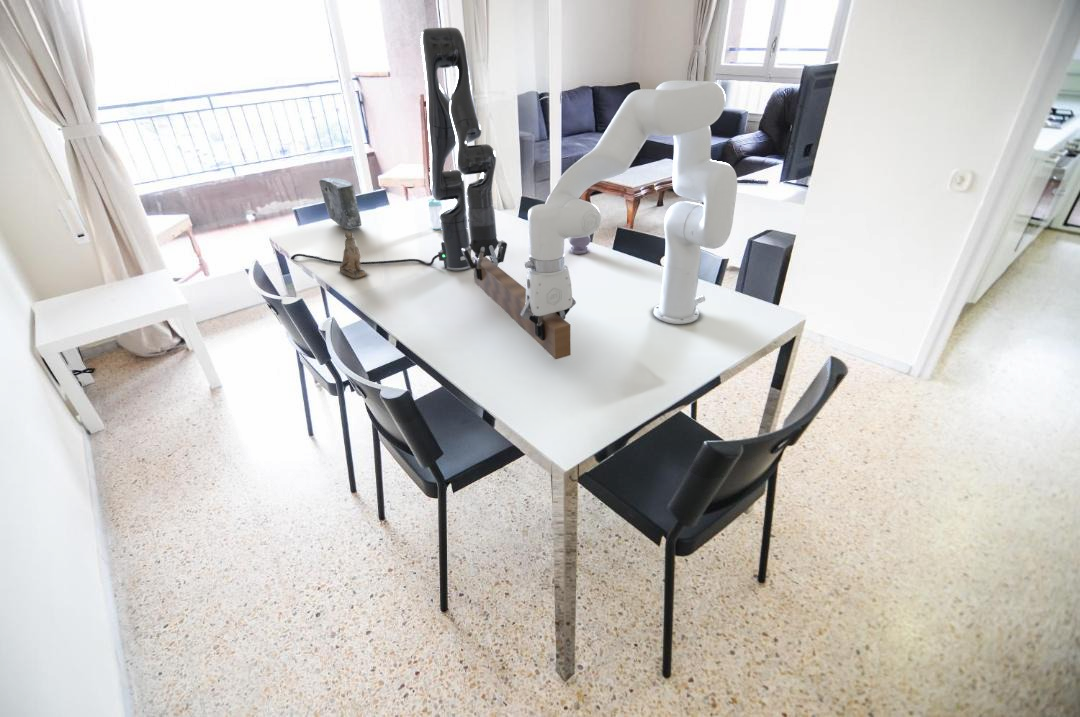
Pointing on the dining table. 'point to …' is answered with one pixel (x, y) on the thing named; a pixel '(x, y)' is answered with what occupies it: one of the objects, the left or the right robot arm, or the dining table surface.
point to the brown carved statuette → (351, 258)
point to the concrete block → (341, 202)
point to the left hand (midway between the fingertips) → (487, 277)
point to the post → (513, 302)
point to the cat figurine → (579, 244)
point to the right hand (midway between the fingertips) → (549, 334)
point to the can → (435, 213)
